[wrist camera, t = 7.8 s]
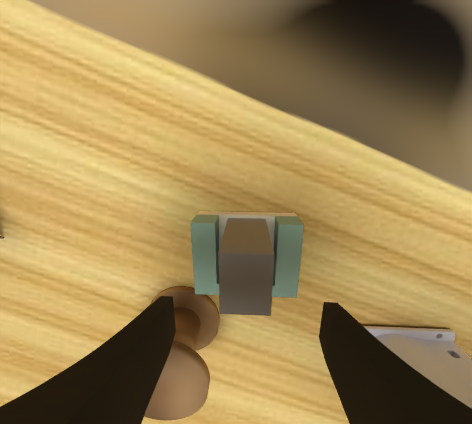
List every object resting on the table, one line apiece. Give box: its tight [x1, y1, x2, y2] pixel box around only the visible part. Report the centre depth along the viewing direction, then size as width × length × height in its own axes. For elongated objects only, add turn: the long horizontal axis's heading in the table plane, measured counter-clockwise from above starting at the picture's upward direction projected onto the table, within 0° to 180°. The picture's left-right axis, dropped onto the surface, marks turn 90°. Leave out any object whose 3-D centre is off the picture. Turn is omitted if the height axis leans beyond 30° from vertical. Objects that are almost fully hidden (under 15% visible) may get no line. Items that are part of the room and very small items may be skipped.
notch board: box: [191, 211, 304, 298], centre depth 18 cm, size 8×6×3 cm
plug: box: [218, 218, 274, 316], centre depth 15 cm, size 3×4×6 cm
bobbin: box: [144, 287, 219, 420], centre depth 19 cm, size 7×7×7 cm
